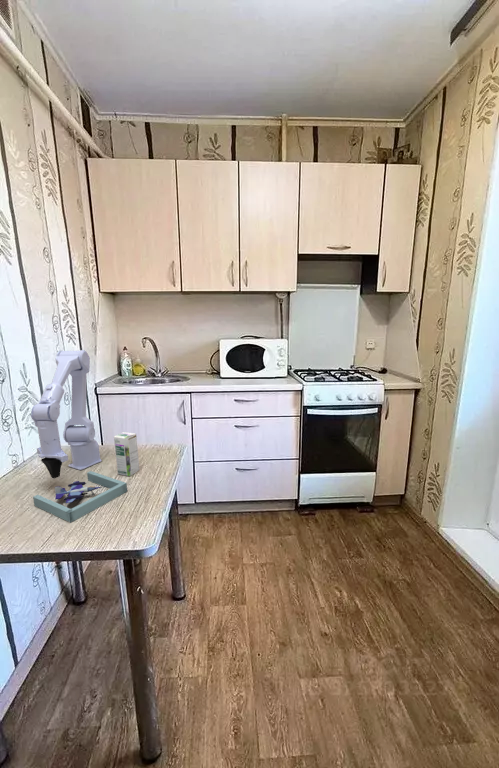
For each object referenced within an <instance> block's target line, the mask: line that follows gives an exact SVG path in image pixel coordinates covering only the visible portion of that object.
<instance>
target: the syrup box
mask: <svg viewBox="0 0 499 768" xmlns="http://www.w3.org/2000/svg"><path fill="white" fill-rule="evenodd" d="M137 437H138V436H137V433H133V432H126V431H123V432H120V433H118V434H116V435H115V436H113V441H114V450H115V452H114V453H115V459H116V469H117V470H116V471H117V472H116V473H117V475H120V476H121V475H122V476H127V477H131V476H133V475H134V474H135V473H137V472H138V471H140V469H141V468H140V461H139V460H140V459H139V449H138V438H137Z"/></svg>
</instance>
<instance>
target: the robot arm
mask: <svg viewBox="0 0 499 768" xmlns="http://www.w3.org/2000/svg"><path fill="white" fill-rule="evenodd" d="M88 353H89V352H87V350H85V349H81V350H79V349H78V350H58V352H57V353H56V355H55V360H54V361H55V365H56V368H55V372H54V375H53V378H52V382H51V383H49V384H47V385H46V386H45V388H44V391H43V393H42V395H41V396H40V399H39V401H38V403H36V404H34V405H33V406H32V408H31V411H30V412H31V414H30V417H31V419H32V421H33V422H34V425H35V427H36V428H37V431H38V432H37V433H38V439H39V445H40V447H37V448H36V454H38V458H39V459H40V460H41V462H42V463H43V465H44V466H45V468H46V469H47V470H48V473H49V475H50V477H51V478H52V479H56V478H60V476H61V469H62V465H63V463H64V462H67V461H69V455H68V454H66V453H65V451H64V450H63V448H62V445H61V440H60V433H59V425H58V424H59V423H58V419H59V417H60V414H61V404H60V403H61V401H62V400H63V399H62V398H63V396H64V393H65V389H64V388H63V387H64V385H65V383H66V381H67V379H68V377H69V376H71V414H70V415H71V416H70V417H71V418H69V419H68V420H67V421H66V422H65V423H64V430H63V433H62V436H63V437H62V438H63V440H64V441H65V443H67V444H68V446H70V454H71V460H72V463H69V464H68V465H67V467H69V468H72V469H76V470H78V471H82V470H84V469H87V468H89V467H91V466H94V465H96V464H98V463H99V464H100V462H102V461H103V460H102V459H101V455H100V445H99V443H98V441H97V440H96V439H95V437H96V429H95V425H94V421H92V420H91V419H89V417H87V374H88V373H90V367H91V364H90V362H91V361H90V359H91V358H90V356H89V354H88Z"/></svg>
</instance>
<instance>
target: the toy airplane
mask: <svg viewBox="0 0 499 768" xmlns="http://www.w3.org/2000/svg"><path fill="white" fill-rule="evenodd" d="M86 484H87V482H86V481H79V480H78V481H77V480H76V481H73V482H71V483H69V484H68V485H67V488H68V487H69V488H70V489H69V490H66V487H62V486H54V491H55V493H54V494H55V499H54V500H61V499H62V498H63V496H64V495H65V496H66V497H64V498H63V501H64V504H71V503H73V502H74V501H76V500H77V501H78V500H80V499H81V500H82V499H83V497H85V495H87V494H88V493H89V492H91V497H95V493H94V491H95V490H98V489H102V488H103V486H96V485H88V486H86ZM84 486H85V487H84ZM104 488H107V486H105V487H104Z"/></svg>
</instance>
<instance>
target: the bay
mask: <svg viewBox="0 0 499 768" xmlns="http://www.w3.org/2000/svg"><path fill="white" fill-rule="evenodd" d="M86 476H87V477H86V478H87V481H88V482H91V483H94V484H97V485H99V486H101V487H103V488H108V489H107V490H105V491H103V492H101V493H99V494H97V495H96V496H95V495H94V496H92V498H89V499H88V500H86V501H84V502H81V503H80V504H78V505H76V506H74V507H72V508H69V507H68V506H64V505H62V504H61V503H58V502H56V501H53V500H52V499H50V498H49V499H48V498H47V497H44V496H42V495H41V494H40V495H39V494H36V495H34V496H32V499H33V500H32V501H33V505H34V507H36V508H39V509H41V510H43V511H45V512H46V513H49V514H51V515H53V516H56V517H57V518H60V519H62V520H64V521H66V522H67V523H68V522H69V523H72V522H75V521H76V520H79V519H80V518H81V517H84V516H86V515H87V514H89V513H91V512H93V511H95V510H96V509H98V508H100V507H102V506H104V505H105V504H107V503H109V502H111V501H113V500H114V499H116V498H118V497H120V496H122V495H123V494H125V493H127V492H128V484H127V482H125V481H121V480H119V479H116V478H113V477H110V476H107V475H104V474H101V473H98V472H95V471H92V470H90V471H87V472H86ZM105 486H107V487H105Z"/></svg>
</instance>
